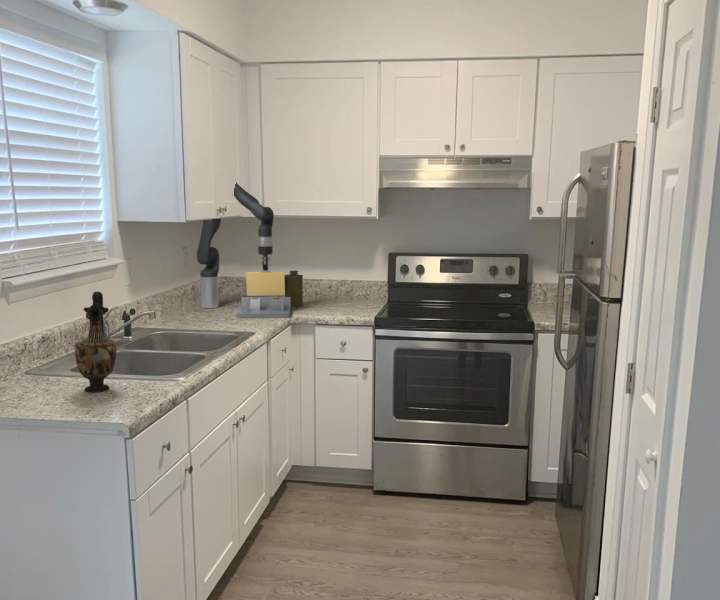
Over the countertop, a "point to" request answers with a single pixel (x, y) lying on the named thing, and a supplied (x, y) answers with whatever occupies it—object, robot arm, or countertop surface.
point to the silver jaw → (255, 304)
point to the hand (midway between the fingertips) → (265, 277)
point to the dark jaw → (276, 304)
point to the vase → (96, 348)
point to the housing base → (265, 308)
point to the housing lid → (265, 283)
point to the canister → (294, 288)
